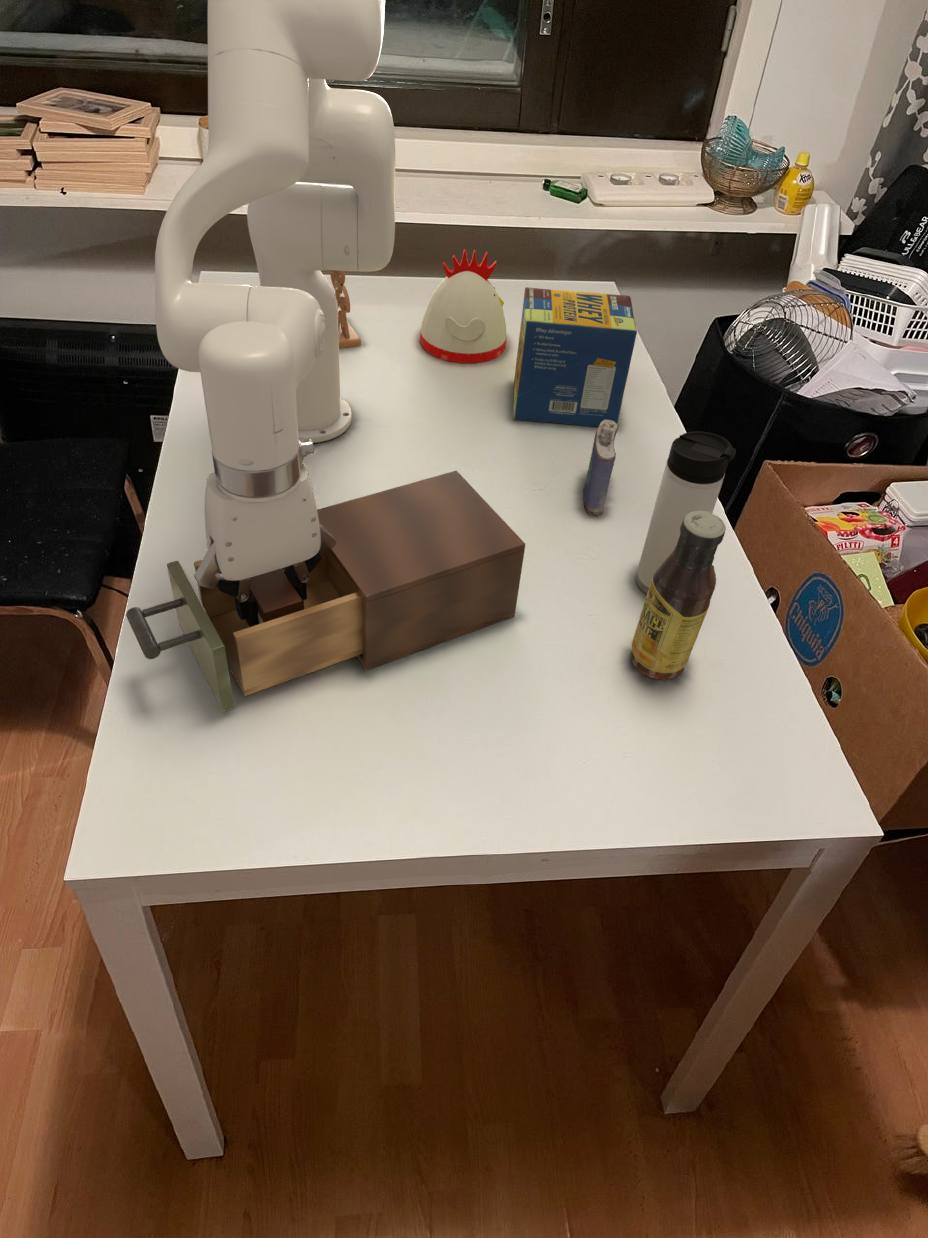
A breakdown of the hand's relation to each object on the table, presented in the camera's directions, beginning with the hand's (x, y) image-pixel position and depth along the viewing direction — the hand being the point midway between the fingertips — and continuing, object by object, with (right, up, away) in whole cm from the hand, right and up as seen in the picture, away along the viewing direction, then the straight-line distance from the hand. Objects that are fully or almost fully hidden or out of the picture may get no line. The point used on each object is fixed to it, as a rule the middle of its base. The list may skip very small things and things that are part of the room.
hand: (272, 611), depth 94 cm
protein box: (+34, +31, +43) cm, 63 cm away
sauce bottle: (+41, -6, +6) cm, 41 cm away
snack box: (0, -2, +2) cm, 3 cm away
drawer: (-2, -4, +2) cm, 5 cm away
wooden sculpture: (0, +45, +54) cm, 70 cm away
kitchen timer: (+19, +44, +55) cm, 73 cm away
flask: (+37, +16, +28) cm, 49 cm away
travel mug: (+43, +3, +16) cm, 46 cm away
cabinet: (+14, +1, +10) cm, 17 cm away
